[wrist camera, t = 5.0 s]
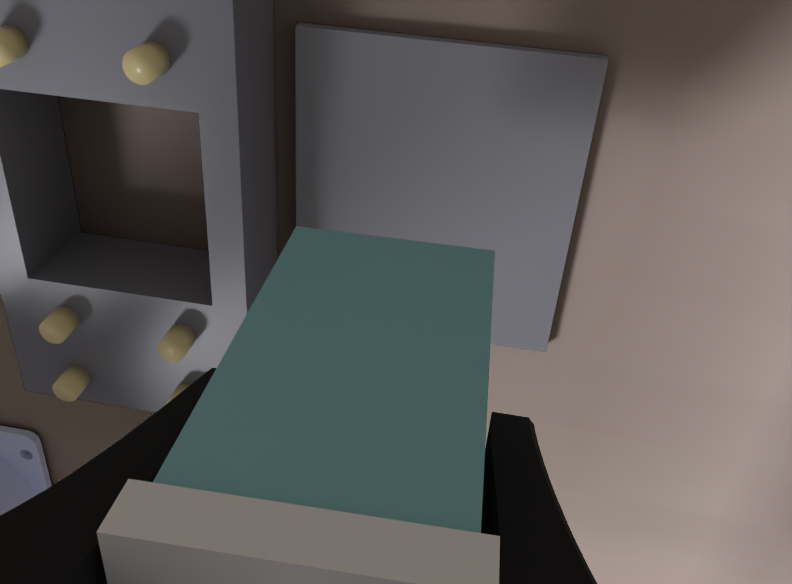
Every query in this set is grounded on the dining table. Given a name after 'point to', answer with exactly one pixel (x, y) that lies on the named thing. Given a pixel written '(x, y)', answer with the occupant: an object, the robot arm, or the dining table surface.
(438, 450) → the plug
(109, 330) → the box
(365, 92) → the pad
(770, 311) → the dining table surface
